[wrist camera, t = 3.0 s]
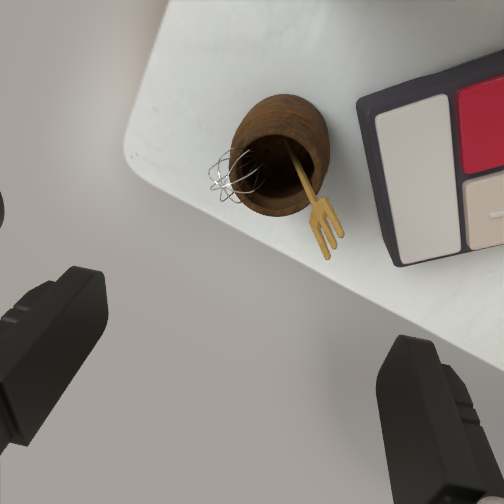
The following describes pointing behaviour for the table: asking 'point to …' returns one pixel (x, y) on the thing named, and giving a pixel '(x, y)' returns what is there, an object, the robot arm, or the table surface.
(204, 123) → the table surface
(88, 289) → the robot arm
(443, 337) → the table surface
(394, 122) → the calculator
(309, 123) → the utensil holder
